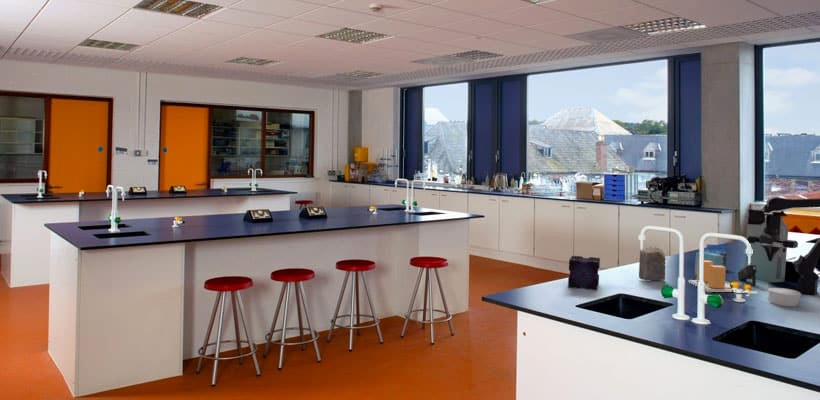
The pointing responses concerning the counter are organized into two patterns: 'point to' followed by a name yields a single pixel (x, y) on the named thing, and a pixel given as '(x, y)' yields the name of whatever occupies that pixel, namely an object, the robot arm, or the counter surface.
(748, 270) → the gun
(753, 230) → the device
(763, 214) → the robot arm
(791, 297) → the ramekin
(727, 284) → the dip bank
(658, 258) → the geological specimen
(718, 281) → the orange rectangular block
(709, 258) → the data package
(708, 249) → the label tape box
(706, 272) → the tab
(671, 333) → the counter surface
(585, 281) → the energy cube
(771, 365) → the counter surface
